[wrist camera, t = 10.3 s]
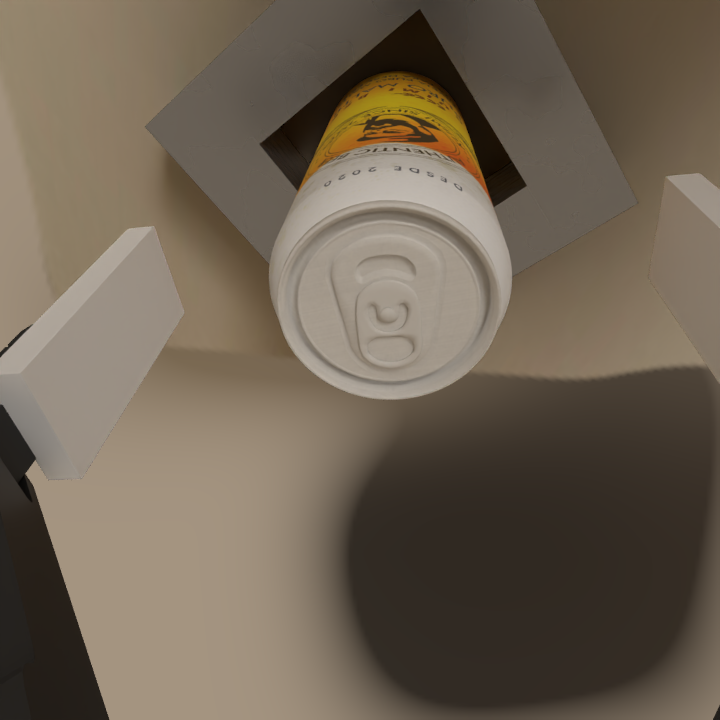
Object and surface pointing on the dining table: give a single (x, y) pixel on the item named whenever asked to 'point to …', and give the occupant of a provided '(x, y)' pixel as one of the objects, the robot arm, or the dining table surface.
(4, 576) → the robot arm
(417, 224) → the beer can
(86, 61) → the dining table surface
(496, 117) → the collar
